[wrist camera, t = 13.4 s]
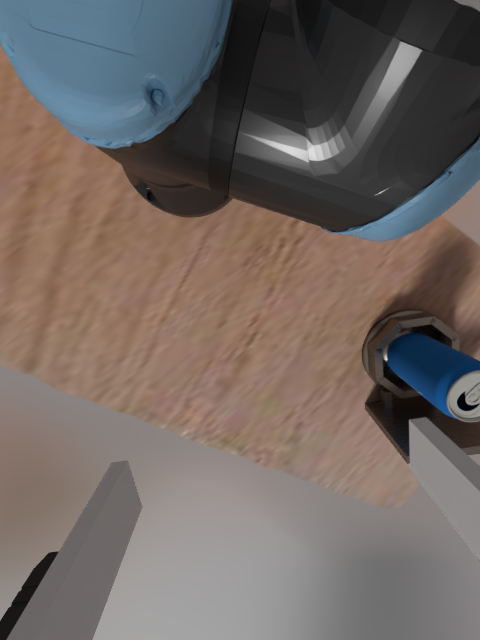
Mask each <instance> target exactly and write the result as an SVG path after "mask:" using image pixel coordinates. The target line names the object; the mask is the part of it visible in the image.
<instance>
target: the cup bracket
mask: <svg viewBox="0 0 480 640" xmlns="http://www.w3.org/2000/svg"><path fill="white" fill-rule="evenodd" d="M407 333H421V334H424V335H426V336H428V337H430V338H432V339H434V340H437V341H439V342H441V343H443V344H445V345H447V346H449V347H451V348H453V349H455V350H457V351H460V335H458V334H457V333H456V332H454V331H453V330H452V329H451V328H449V327H448V326H447V325H446V324H444V323H443V322H442V321H441V320H439V319H438V318H437V317H435V316H434V315H431V314H429V313H426V312H423V311H420V310H402V311H397V312H394V313H392V314H390V315H388V316H386V317H384V318H383V319H381V320H380V321H379V322H378V323H376V324H375V325H374V327H373V328H372V329H371V330H370V332H369V333H368V335H367V337H366V339H365V341H364V344H363V349H362V361H363V365H364V368H365V370H366V372H367V374H368V375H369V376H370V377H371V378H372V380H373V381H374V382H376V383H377V384H378V385H380V386H381V387H383V388H385V389H380V394H381V401H379V402H372V403H365V410H366V411H367V412H368V413H369V415H370V416H371V417H372V419H373V420H374V421H375V422H376V424H377V425H378V426H379V428H380V429H381V430H382V431H383V433H384V434H385V435H386V437H387V438H388V439H389V440H390V442H391V443H392V444H393V446H394V447H395V448H396V449H397V451H398V452H399V453H400V455H401V456H402V457H403V458H404V460H405V461H406V462H407V464H408V463H410V447H409V420H411V419H417V418H424V417H426V418H427V419H429V420H430V421H431V422H432V423H433V424H434V425H435V426H436V427H437V428H438V429H440V430H441V431H442V432H443V433H444V434H445V435H446V436H447V437H448V438H449V439H450V440H452V441H453V442H454V443H455V444H456V445H457V446H458V447H459V448H460V449H461V450H463V451H464V452H465V453H466V454H467V455H473V454H480V421H478V422H465V421H461V420H459V419H457V418H453V417H450V416H448V415H446V414H444V413H443V412H441V411H440V410H439V409H438V408H437V407H435V406H434V405H433V404H432V403H430V402H429V401H428V400H427V399H426V398H424V397H423V396H422V395H421V394H420V393H418V392H417V391H416V390H415V389H413V388H412V387H411V386H410V385H409V384H407V383H406V382H405V381H404V380H402V379H401V378H400V377H399V376H398V375H396V374H395V373H394V372H393V371H392V370H391V369H390V367H389V365H388V363H387V353H388V350H389V348H390V346H391V344H392V343H393V342H394V341H395V340H396V339H397V338H398V337H400V336H402V335H404V334H407ZM392 392H393V393H394V394H395V395H397V396H398V397H400V398H399V399H392Z"/></svg>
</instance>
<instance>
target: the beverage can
mask: <svg viewBox="0 0 480 640" xmlns="http://www.w3.org/2000/svg"><path fill="white" fill-rule="evenodd" d="M387 363H388V365H389V367H390V369H391V370H392V371H393V372H394V373H395V374H396V375H398V376H399V377H400V378H401V379H402V380H404V381H405V382H406V383H407V384H409V385H410V386H411V387H412V388H413V389H415V390H416V391H417V392H418V393H420V394H421V395H422V396H423V397H424V398H426V399H427V400H428V401H429V402H430V403H432V404H433V405H434V406H435V407H437V408H438V409H439V410H440V411H441V412H443V413H444V414H446V415H448V416H450V417H453V418H457V419H459V420H461V421H465V422H478V421H480V361H478V360H476V359H474V358H472V357H470V356H468V355H466V354H464V353H462V352H460V351H457V350H455V349H453V348H451V347H449V346H447V345H445V344H443V343H441V342H439V341H437V340H434V339H432V338H430V337H428V336H426V335H424V334H421V333H407V334H404V335H402V336H400V337H398V338H397V339H396V340H395V341H394V342H393V343H392V344H391V346H390V348H389V350H388V353H387Z"/></svg>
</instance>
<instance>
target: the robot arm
mask: <svg viewBox="0 0 480 640" xmlns="http://www.w3.org/2000/svg"><path fill="white" fill-rule="evenodd" d="M0 43H1V46H2V48H3V50H4V52H5V53H6V54H7V55H8V57H9V60H10V63H11V64H12V65H13V67H14V68H15V70H16V72H17V75H18V77H19V79H20V80H21V81H22V83H23V84H24V85H25V87H26V88H27V89H28V91H29V92H30V93H31V94H32V95H33V96H34V98H35V99H36V100H37V101H38V102H39V103H40V104H41V105H42V106H44V107H45V108H46V109H47V110H48V111H49V112H50V113H51V114H53V115H54V117H55V118H56V119H58V120H59V122H60V123H61V124H62V125H63V126H64V127H66V128H67V130H68V131H69V132H70V133H71V134H73V135H74V136H77V137H79V138H80V139H81V140H83V141H84V142H86V143H89V144H91V145H94V146H95V147H97V148H98V149H100V150H101V151H103V152H104V153H106V154H107V155H108V156H110V157H111V158H113V159H114V160H116V161H117V162H119V163H120V164H121V165H122V167H123V169H124V171H125V173H126V175H127V177H128V179H129V181H130V182H131V184H132V185H133V186H134V188H135V189H136V190H137V191H138V193H139V194H140V195H141V196H142V197H143V198H144V199H146V200H147V201H148V202H149V203H151V204H152V205H154V206H155V207H157V208H159V209H161V210H163V211H165V212H167V213H170V214H172V215H176V216H180V217H200V216H205V215H208V214H211V213H213V212H215V211H217V210H219V209H221V208H222V207H224V206H225V205H226V204H227V203H229V202H230V201H231V200H232V199H233V198H234V199H237V200H240V201H243V202H246V203H249V204H253V205H256V206H259V207H262V208H265V209H268V210H271V211H274V212H277V213H280V214H284V215H287V216H290V217H293V218H296V219H299V220H302V221H305V222H308V223H311V224H315V225H318V226H321V228H322V229H324V230H325V231H327V232H330V233H332V234H340V235H351V236H355V237H359V238H362V239H366V240H370V241H387V240H392V239H396V238H399V237H403V236H405V235H408V234H410V233H412V232H414V231H416V230H418V229H420V228H422V227H423V226H425V225H427V224H428V223H430V222H431V221H433V220H434V219H436V218H437V217H439V216H440V215H441V214H443V213H444V212H445V211H446V210H448V209H449V208H450V207H451V206H452V205H454V204H455V203H456V202H457V201H458V200H460V199H461V198H462V197H463V196H464V195H465V194H466V193H467V192H468V191H469V190H470V189H471V188H472V187H473V186H474V185H475V184H476V183H477V182H478V181H479V179H480V0H0ZM409 447H410V471H411V472H412V473H413V475H414V476H415V477H416V478H417V480H418V481H419V482H420V484H421V485H422V486H423V488H424V489H425V490H426V492H427V493H428V494H429V495H430V497H431V498H432V499H433V501H434V502H435V503H436V505H437V506H438V507H439V509H440V510H441V511H442V512H443V514H444V515H445V516H446V518H447V519H448V520H449V522H450V523H451V524H452V525H453V527H454V528H455V529H456V531H457V532H458V533H459V535H460V536H461V537H462V538H463V540H464V541H465V542H466V544H467V545H468V546H469V548H470V549H471V550H472V552H473V553H474V554H475V555H476V557H477V558H478V559H479V561H480V466H479V465H478V464H477V463H476V462H475V461H474V460H472V459H471V458H470V457H469V456H468V455H467V454H466V453H465V452H464V451H463V450H461V449H460V448H459V447H458V446H457V445H456V444H455V443H454V442H453V441H452V440H450V439H449V438H448V437H447V436H446V435H445V434H444V433H443V432H442V431H441V430H440V429H438V428H437V427H436V426H435V425H434V424H433V423H432V422H431V421H430V420H429V419H427V418H426V417H424V418H417V419H411V420H409ZM141 509H142V505H141V501H140V498H139V495H138V492H137V489H136V486H135V482H134V479H133V476H132V473H131V470H130V467H129V463H128V461H121V462H114V463H111V465H110V467H109V469H108V470H107V472H106V473H105V475H104V477H103V478H102V480H101V482H100V484H99V485H98V487H97V489H96V490H95V492H94V494H93V496H92V497H91V499H90V500H89V502H88V504H87V505H86V507H85V509H84V510H83V512H82V514H81V515H80V517H79V519H78V521H77V522H76V524H75V525H74V527H73V529H72V531H71V533H70V534H69V536H68V537H67V539H66V541H65V542H64V544H63V546H62V547H61V549H60V551H59V552H51V553H48V554H47V555H46V556H45V558H44V559H43V560H42V561H41V562H40V563H39V564H38V565H37V566H36V567H35V568H34V569H33V571H32V572H31V574H30V576H29V577H28V579H27V580H26V582H25V583H24V585H23V586H22V590H21V591H19V593H18V594H17V596H16V597H15V599H14V600H13V602H12V605H11V607H9V608H8V610H7V611H6V613H5V614H4V616H3V617H2V619H1V621H0V640H92V639H93V636H94V634H95V631H96V628H97V626H98V623H99V620H100V618H101V615H102V612H103V610H104V607H105V604H106V602H107V599H108V596H109V594H110V591H111V588H112V586H113V583H114V580H115V578H116V575H117V572H118V570H119V567H120V565H121V562H122V559H123V557H124V554H125V551H126V549H127V546H128V543H129V541H130V538H131V535H132V532H133V530H134V527H135V525H136V522H137V519H138V517H139V514H140V511H141Z"/></svg>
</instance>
